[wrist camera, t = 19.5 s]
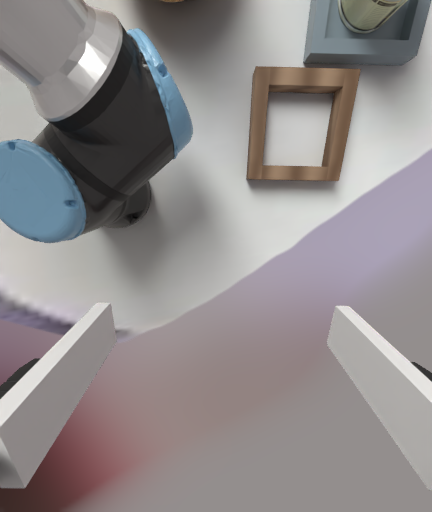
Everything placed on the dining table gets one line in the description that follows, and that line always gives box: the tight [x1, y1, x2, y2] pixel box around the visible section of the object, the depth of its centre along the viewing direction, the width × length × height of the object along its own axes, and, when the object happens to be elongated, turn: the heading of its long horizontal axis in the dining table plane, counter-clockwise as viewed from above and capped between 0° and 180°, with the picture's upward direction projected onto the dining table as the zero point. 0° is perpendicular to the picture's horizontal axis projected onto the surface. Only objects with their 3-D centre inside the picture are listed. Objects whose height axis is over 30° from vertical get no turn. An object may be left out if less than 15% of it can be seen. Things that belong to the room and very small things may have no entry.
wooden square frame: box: [247, 66, 361, 181], centre depth 40 cm, size 18×18×3 cm
